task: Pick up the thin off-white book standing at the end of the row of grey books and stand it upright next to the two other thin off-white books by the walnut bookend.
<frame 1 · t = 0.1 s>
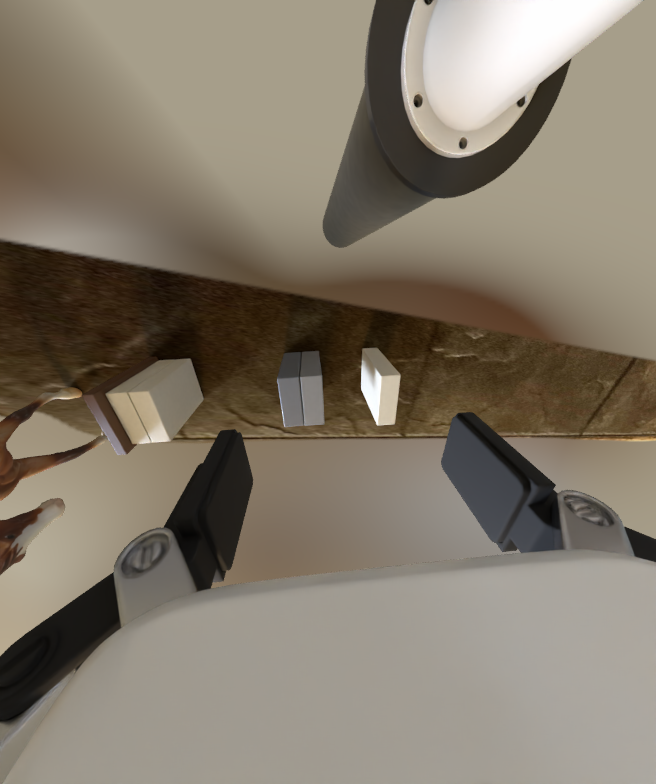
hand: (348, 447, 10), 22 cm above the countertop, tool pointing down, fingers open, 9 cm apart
horse figurine: (29, 359, 29), on the countertop
white books: (182, 380, 31), on the countertop
grey books: (303, 373, 32), on the countertop
white book: (368, 368, 32), on the countertop
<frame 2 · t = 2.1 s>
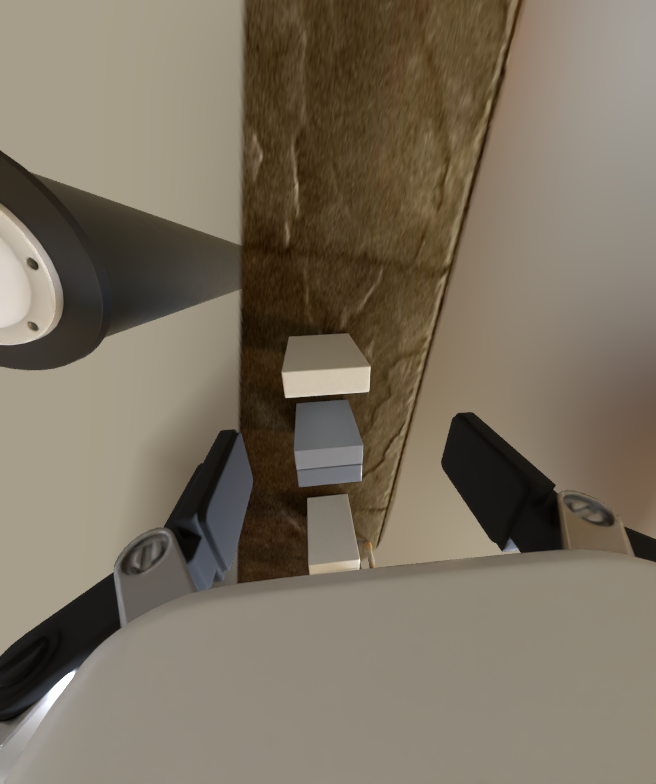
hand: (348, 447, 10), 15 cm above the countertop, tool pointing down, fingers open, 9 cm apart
white books: (327, 504, 36), on the countertop
grey books: (323, 417, 28), on the countertop
white book: (319, 344, 24), on the countertop
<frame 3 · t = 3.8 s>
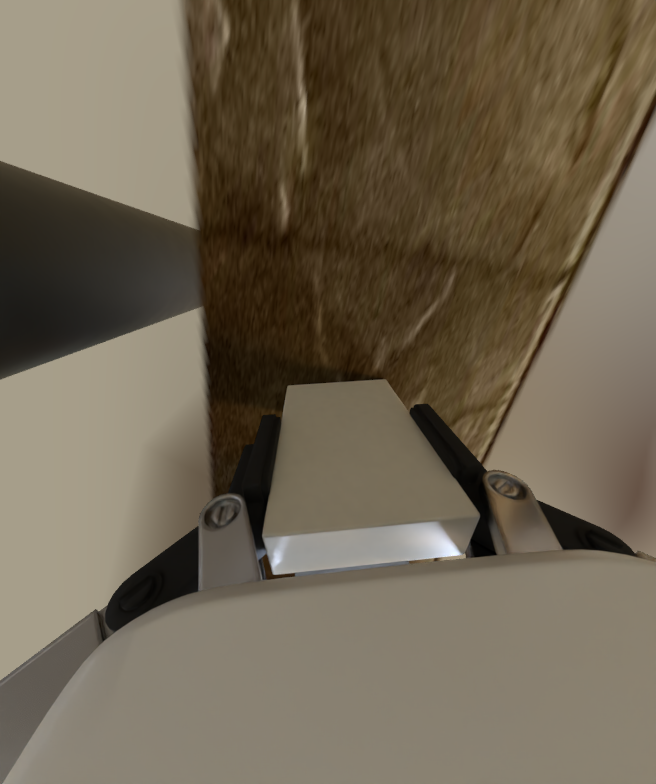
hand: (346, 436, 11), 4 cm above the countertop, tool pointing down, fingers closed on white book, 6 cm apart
grey books: (339, 494, 19), on the countertop
white book: (337, 396, 15), on the countertop, touching gripper
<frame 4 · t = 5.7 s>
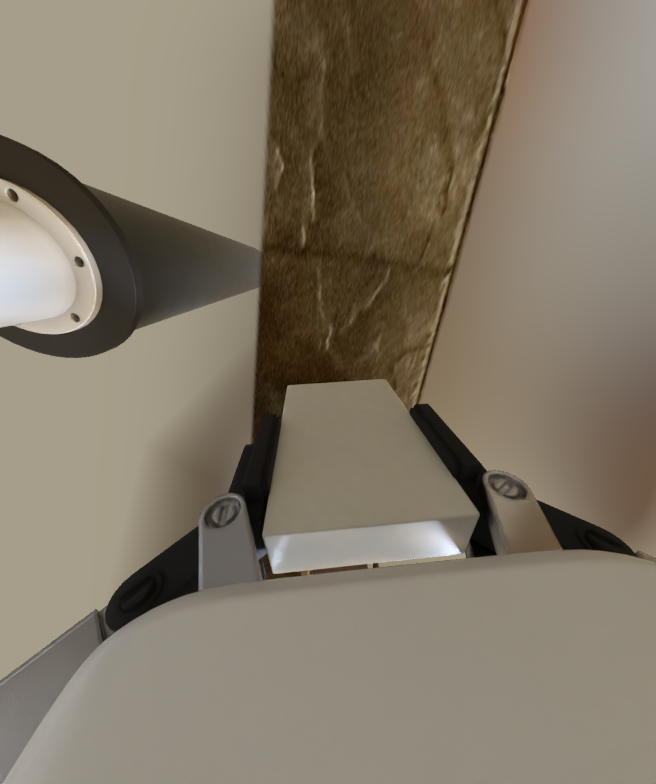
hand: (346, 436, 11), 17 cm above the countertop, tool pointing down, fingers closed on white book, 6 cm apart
white book: (337, 396, 15), point 13 cm above the countertop, touching gripper
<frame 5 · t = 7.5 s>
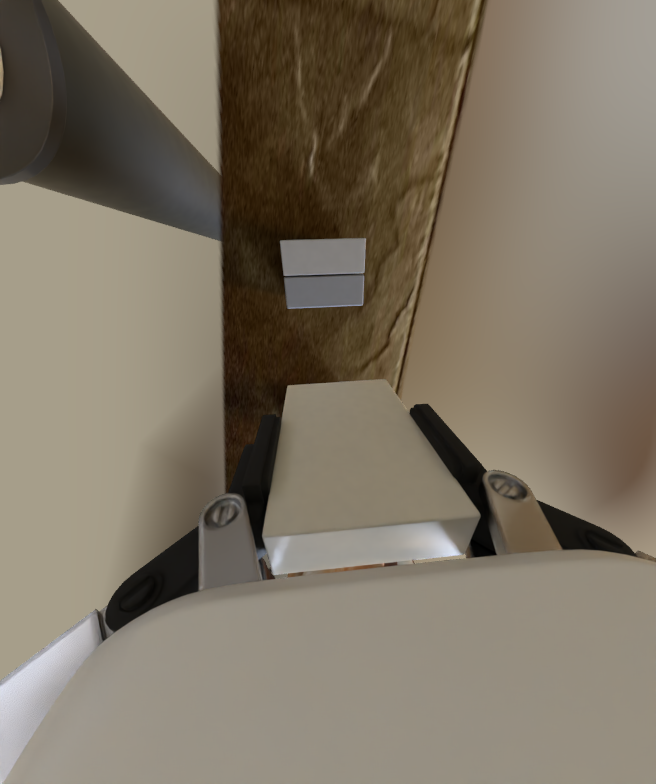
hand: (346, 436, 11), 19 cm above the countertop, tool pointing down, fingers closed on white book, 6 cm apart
horse figurine: (304, 491, 40), on the countertop
grey books: (319, 272, 24), on the countertop
white book: (337, 396, 15), point 15 cm above the countertop, touching gripper
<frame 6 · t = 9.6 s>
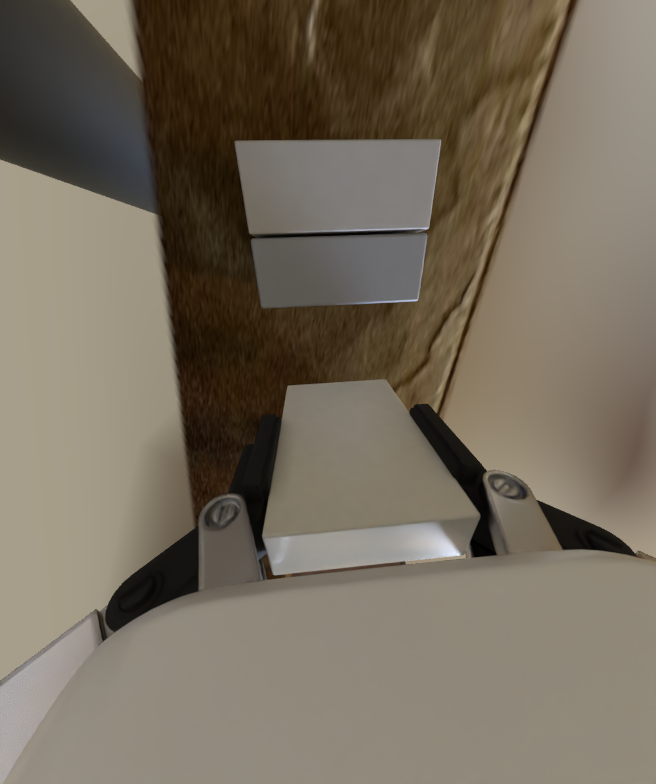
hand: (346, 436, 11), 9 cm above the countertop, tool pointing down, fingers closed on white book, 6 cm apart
white books: (331, 445, 22), on the countertop
grey books: (324, 249, 15), on the countertop
white book: (337, 396, 15), point 5 cm above the countertop, touching gripper
when the fingers open (4 cm above the countertop, at t = 11.2 s): white book stays where it is, on the countertop.
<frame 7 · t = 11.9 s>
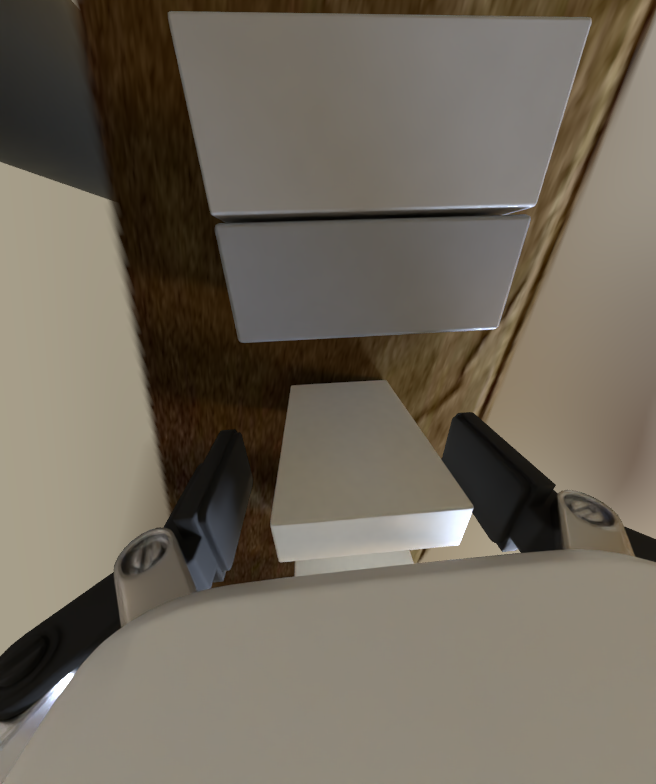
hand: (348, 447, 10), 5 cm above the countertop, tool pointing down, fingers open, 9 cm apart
white books: (339, 481, 19), on the countertop
grey books: (335, 248, 11), on the countertop
white book: (339, 396, 15), on the countertop
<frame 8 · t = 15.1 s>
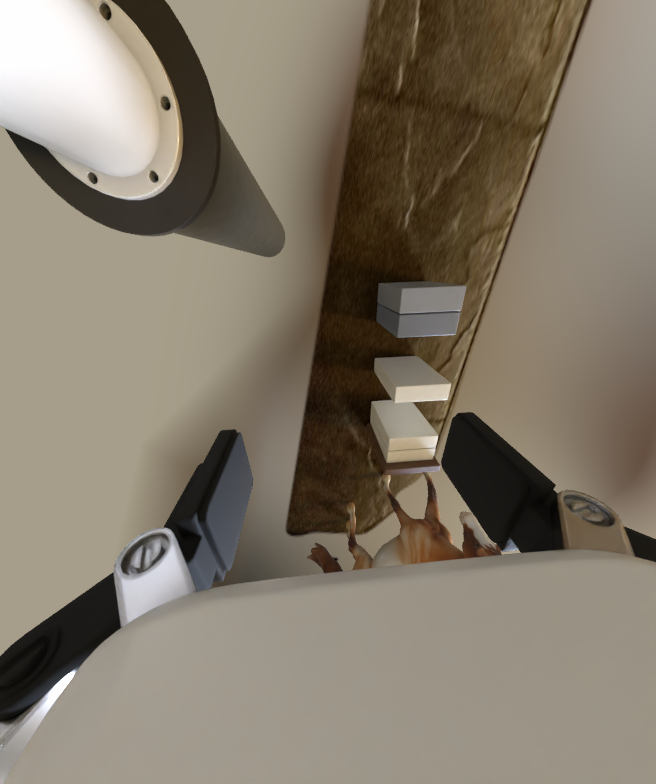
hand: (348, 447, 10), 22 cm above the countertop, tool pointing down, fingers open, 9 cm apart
horse figurine: (360, 486, 45), on the countertop
white books: (389, 410, 37), on the countertop
grey books: (400, 302, 29), on the countertop
white book: (395, 363, 33), on the countertop
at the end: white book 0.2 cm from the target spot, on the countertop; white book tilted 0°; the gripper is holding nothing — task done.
